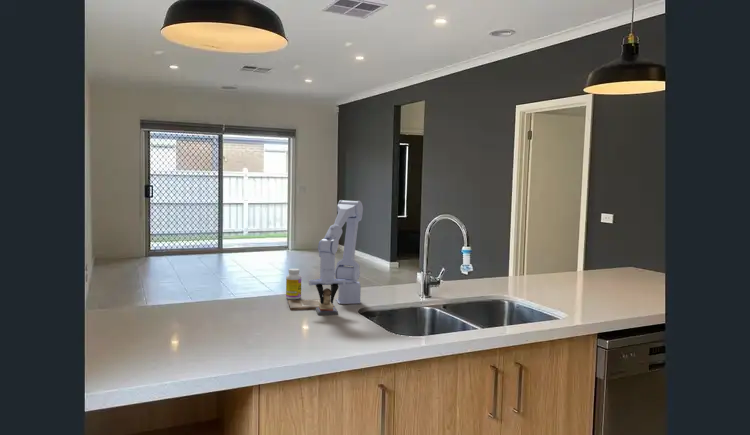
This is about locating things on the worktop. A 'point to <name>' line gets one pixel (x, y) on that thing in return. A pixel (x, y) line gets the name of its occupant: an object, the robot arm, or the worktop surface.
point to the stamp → (326, 301)
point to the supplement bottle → (293, 284)
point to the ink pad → (326, 312)
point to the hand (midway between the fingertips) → (326, 302)
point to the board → (304, 304)
